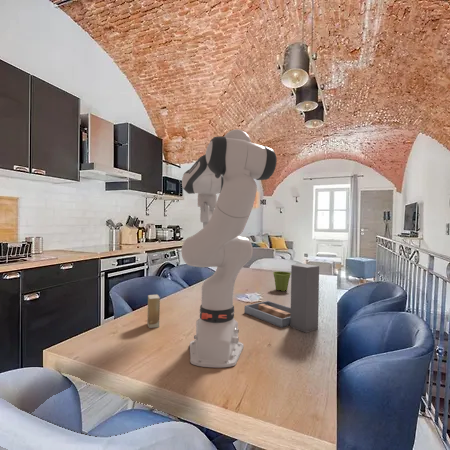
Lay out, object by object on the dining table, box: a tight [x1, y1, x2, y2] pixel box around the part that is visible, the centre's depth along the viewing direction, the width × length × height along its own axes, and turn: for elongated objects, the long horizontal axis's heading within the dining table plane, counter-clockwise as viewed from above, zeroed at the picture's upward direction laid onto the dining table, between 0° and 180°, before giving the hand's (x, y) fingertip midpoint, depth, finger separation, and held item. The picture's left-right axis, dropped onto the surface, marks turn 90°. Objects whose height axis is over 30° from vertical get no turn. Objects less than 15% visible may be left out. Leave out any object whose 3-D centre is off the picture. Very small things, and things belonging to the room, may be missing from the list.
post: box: [289, 263, 320, 333], centre depth 122 cm, size 8×8×26 cm
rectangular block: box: [258, 304, 290, 319], centre depth 136 cm, size 18×3×3 cm, turn 35°
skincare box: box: [146, 294, 161, 329], centre depth 122 cm, size 6×4×12 cm
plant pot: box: [272, 271, 291, 292], centre depth 190 cm, size 12×12×11 cm
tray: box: [243, 300, 291, 328], centre depth 136 cm, size 24×16×4 cm, turn 37°
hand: (207, 232), depth 136 cm, fingers open, 8 cm apart
